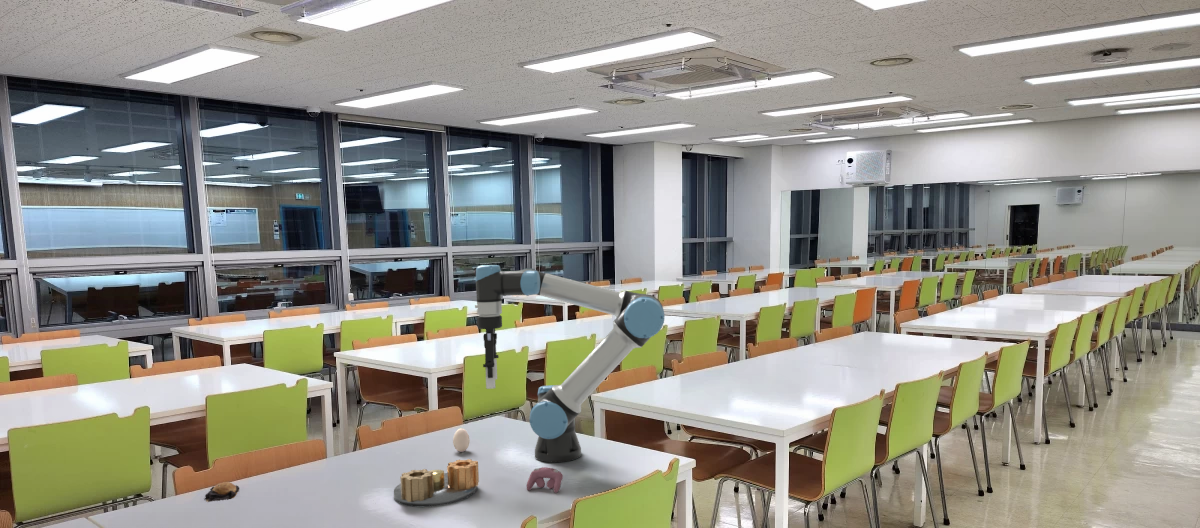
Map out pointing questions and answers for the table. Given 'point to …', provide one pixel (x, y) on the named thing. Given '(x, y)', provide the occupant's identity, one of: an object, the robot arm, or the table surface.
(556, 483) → the video game controller
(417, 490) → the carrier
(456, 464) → the planet gear
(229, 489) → the brown and black mound
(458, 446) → the egg
